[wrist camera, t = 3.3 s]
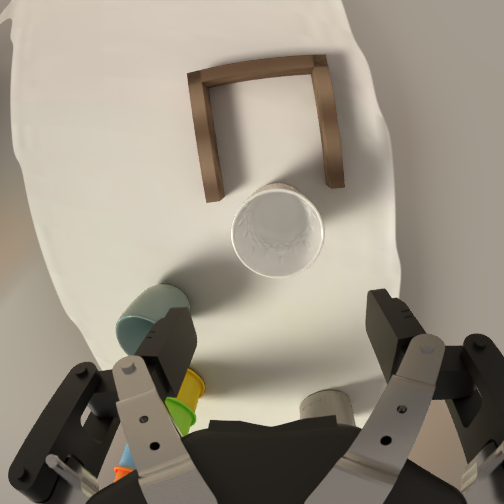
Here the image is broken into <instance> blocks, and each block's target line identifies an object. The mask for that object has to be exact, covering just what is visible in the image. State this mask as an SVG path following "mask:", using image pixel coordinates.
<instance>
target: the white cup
mask: <svg viewBox="0 0 504 504" xmlns="http://www.w3.org/2000/svg"><path fill="white" fill-rule="evenodd" d="M324 234H325V233H324V224H323V220H322V218H321V215H320V213H319V211H318V210H317V208H316V207H315V206H314V204H313V203H312V202H311V201H310V200H308V199H307V198H306V197H305V196H304V195H303V194H302V193H301V192H300V191H298V190H297V189H295V188H294V187H291V186H289V185H286V184H283V183H274V184H267V185H266V186H264V187H261V188H260V189H258V190H257V191H255V192H254V193H253V194H252V195H251V196H250V197H249V198H248V199H247V200H246V201H245V202H244V203H243V204H242V205H241V206H240V208H239V209H238V211H237V212H236V214H235V216H234V219H233V222H232V227H231V239H232V244H233V247H234V250H235V252H236V254H237V256H238V257H239V259H240V260H241V261H242V263H243V264H244V265H245V266H246V267H248V268H249V269H250V270H252V271H253V272H255V273H257V274H259V275H262V276H265V277H270V278H286V277H291V276H294V275H296V274H299V273H301V272H302V271H304V270H306V269H307V268H308V267H309V266H310V265H311V264H312V263H313V262H314V261H315V260H316V259H317V257H318V255H319V254H320V252H321V249H322V246H323V243H324Z"/></svg>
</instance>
